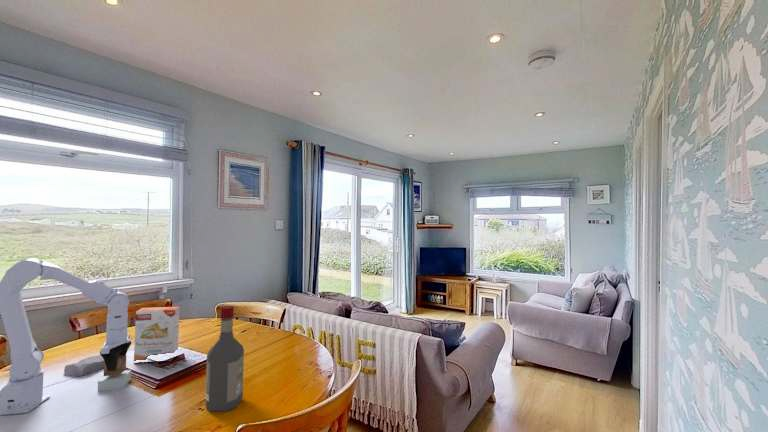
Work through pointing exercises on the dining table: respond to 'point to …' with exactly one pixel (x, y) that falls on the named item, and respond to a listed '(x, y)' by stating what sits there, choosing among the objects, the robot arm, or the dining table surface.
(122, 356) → the walnut block
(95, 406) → the dining table surface
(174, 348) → the cracker box
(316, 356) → the dining table surface
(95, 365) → the stone block
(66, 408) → the dining table surface
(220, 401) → the liquor
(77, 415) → the dining table surface
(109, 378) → the grey-blue block
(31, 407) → the robot arm
